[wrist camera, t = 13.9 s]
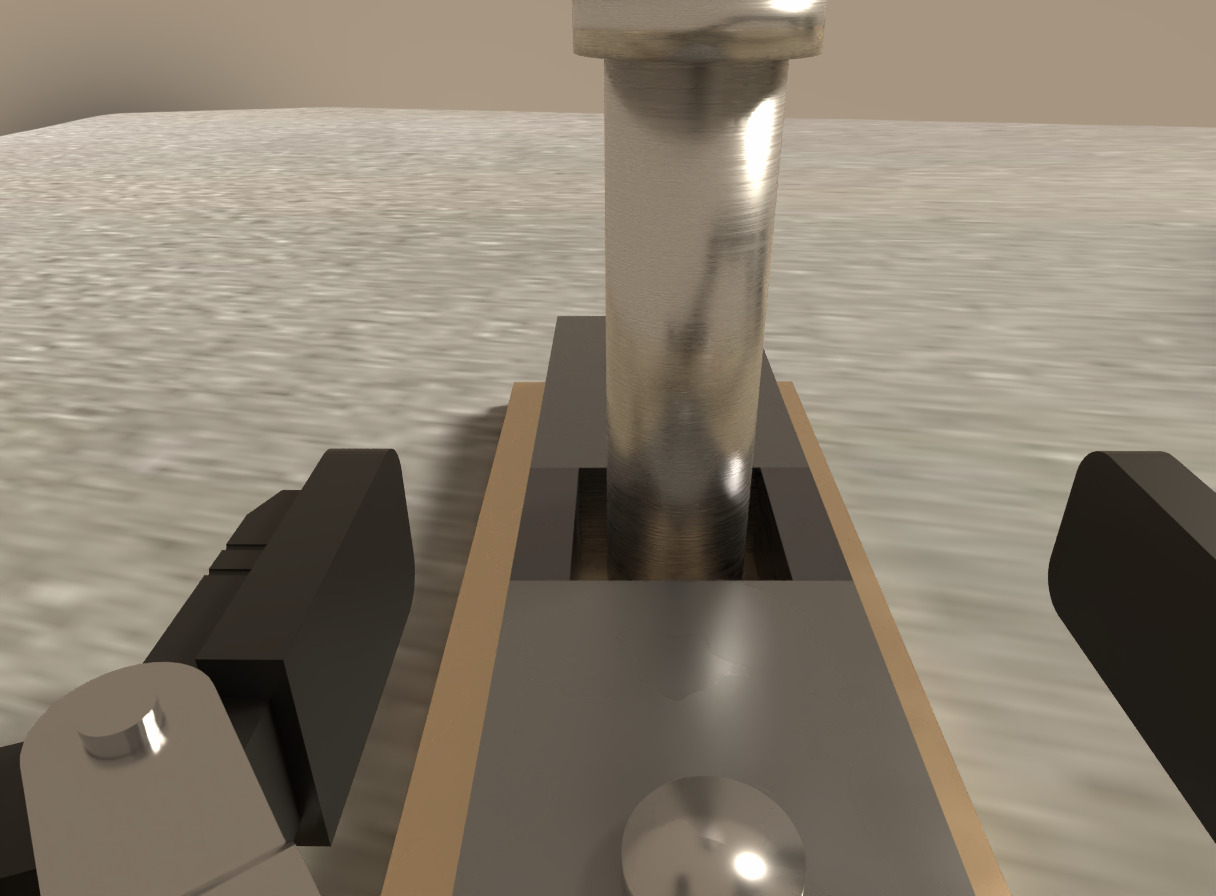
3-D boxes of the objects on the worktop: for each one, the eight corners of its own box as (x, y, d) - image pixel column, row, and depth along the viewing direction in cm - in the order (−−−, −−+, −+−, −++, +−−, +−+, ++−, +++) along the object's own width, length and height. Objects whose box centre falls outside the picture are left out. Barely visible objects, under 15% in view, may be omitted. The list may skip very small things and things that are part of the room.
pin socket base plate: (515, 403, 37) (508, 302, 35) (789, 402, 37) (800, 301, 35) (264, 1428, 11) (172, 1289, 9) (1206, 1443, 11) (1360, 1304, 8)
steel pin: (657, 539, 26) (672, -10, 19) (793, 604, 24) (873, -8, 16) (549, 617, 23) (518, -6, 16) (692, 702, 20) (735, -3, 13)
